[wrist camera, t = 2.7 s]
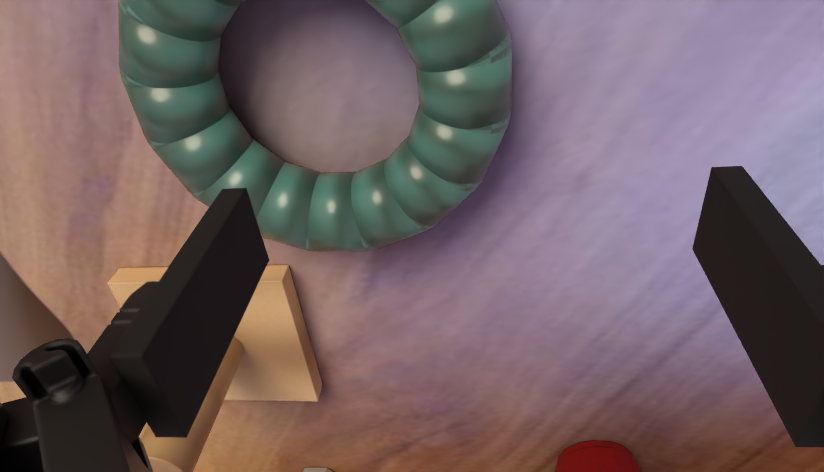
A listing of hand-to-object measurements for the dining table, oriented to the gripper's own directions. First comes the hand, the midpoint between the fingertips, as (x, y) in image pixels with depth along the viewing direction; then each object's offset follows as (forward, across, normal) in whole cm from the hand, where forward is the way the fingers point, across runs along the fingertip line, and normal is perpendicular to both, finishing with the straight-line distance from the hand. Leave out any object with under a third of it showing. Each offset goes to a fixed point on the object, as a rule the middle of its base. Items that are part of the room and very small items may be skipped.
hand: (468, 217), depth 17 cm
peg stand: (+12, -17, -16) cm, 26 cm away
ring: (+10, -7, 0) cm, 12 cm away
